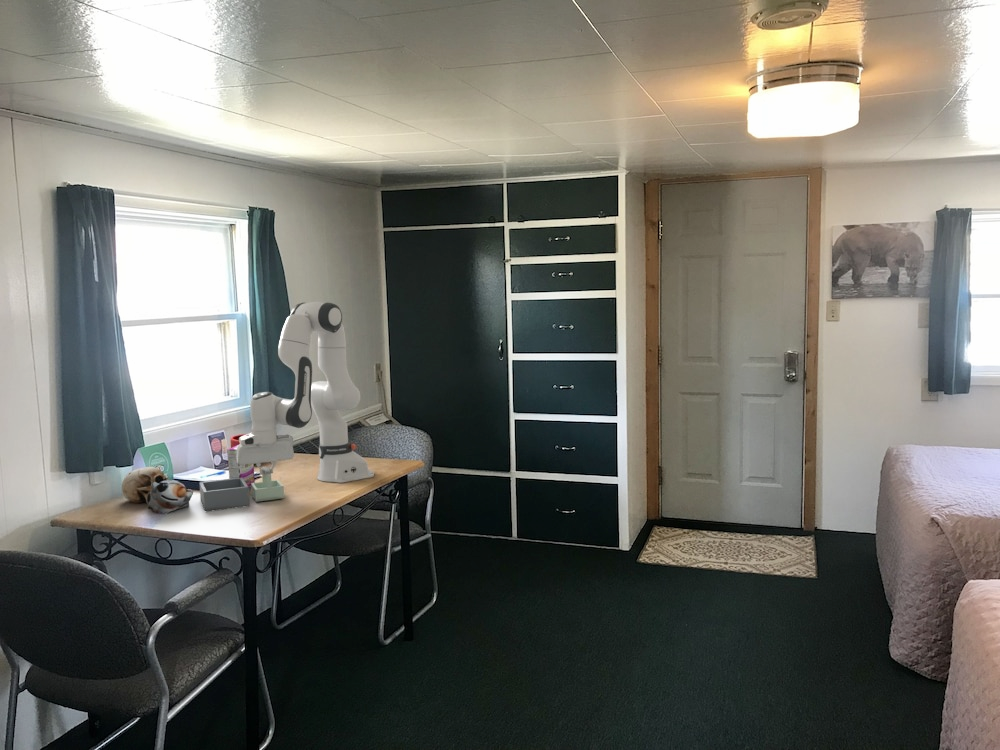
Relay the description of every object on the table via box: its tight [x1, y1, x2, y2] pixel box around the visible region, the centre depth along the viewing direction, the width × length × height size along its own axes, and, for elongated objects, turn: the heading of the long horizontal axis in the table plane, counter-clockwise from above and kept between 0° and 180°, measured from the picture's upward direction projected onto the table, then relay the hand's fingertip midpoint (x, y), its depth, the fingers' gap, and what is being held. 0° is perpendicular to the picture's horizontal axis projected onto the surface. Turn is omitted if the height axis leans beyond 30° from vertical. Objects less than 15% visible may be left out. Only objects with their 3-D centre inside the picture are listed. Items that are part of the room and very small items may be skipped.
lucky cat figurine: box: [146, 479, 194, 514], centre depth 289 cm, size 15×12×14 cm
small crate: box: [250, 466, 285, 503], centre depth 303 cm, size 10×10×10 cm
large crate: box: [199, 478, 250, 512], centre depth 297 cm, size 15×15×7 cm
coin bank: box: [121, 466, 169, 504], centre depth 302 cm, size 16×17×13 cm
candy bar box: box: [227, 445, 256, 488], centre depth 318 cm, size 11×5×16 cm, turn 168°
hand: (266, 473), depth 303 cm, fingers closed on small crate
